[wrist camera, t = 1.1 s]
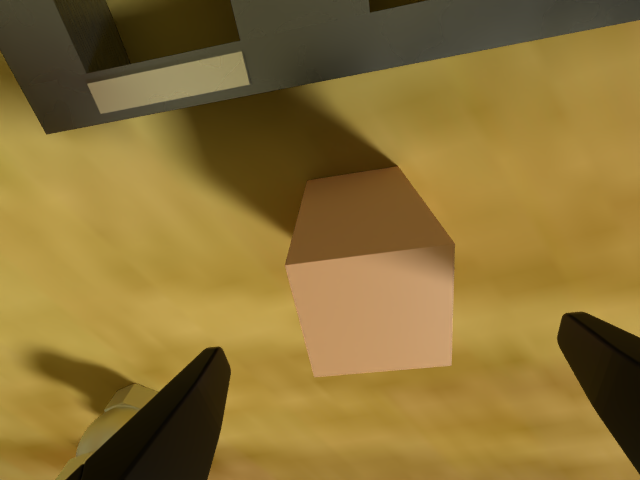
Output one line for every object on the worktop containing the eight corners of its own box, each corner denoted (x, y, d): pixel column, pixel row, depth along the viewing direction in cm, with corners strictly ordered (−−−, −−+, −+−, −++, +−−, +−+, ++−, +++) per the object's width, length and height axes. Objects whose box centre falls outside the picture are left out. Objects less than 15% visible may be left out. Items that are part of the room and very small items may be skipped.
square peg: (398, 166, 15) (454, 243, 8) (402, 246, 17) (451, 365, 10) (307, 180, 16) (284, 265, 9) (322, 256, 18) (314, 377, 11)
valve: (92, 378, 23) (134, 466, 29) (11, 478, 18) (84, 564, 23) (178, 382, 23) (204, 469, 29) (125, 484, 17) (171, 569, 23)
